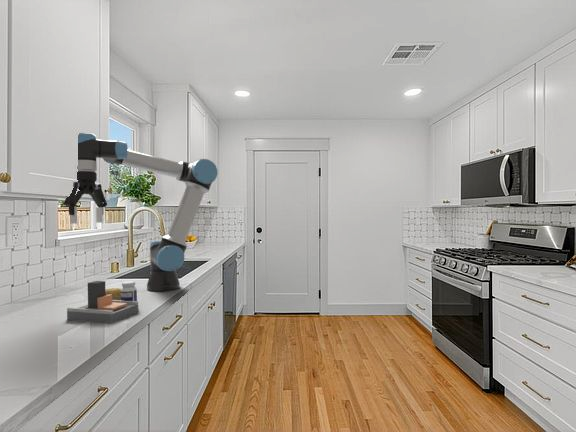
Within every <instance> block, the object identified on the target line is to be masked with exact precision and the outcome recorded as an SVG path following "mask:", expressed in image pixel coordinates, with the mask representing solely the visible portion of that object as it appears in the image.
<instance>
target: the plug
mask: <svg viewBox="0 0 576 432" xmlns="http://www.w3.org/2000/svg"><path fill="white" fill-rule="evenodd" d="M105 290H106V281H105V280H104V281H103V280H94V281H91V282H87V305H88V309H98V305H97V298H99V297H102V296H106V294H105Z"/></svg>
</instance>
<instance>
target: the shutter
mask: <svg viewBox="0 0 576 432" xmlns="http://www.w3.org/2000/svg"><path fill="white" fill-rule="evenodd" d="M97 305H98V309H100V310H116V309H119V308H121V307H124V306H127V303H116V302H112V294H109V295H106V296H102V297H99V298H97Z"/></svg>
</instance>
